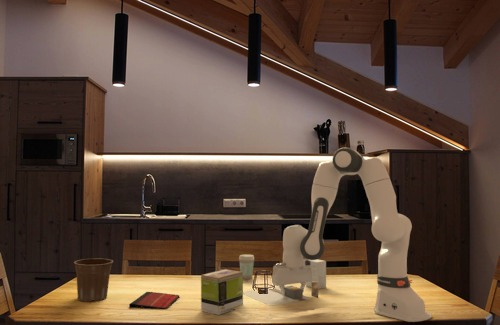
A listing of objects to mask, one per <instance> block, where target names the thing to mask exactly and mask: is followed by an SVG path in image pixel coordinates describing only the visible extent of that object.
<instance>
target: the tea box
mask: <svg viewBox="0 0 500 325" xmlns="http://www.w3.org/2000/svg"><path fill="white" fill-rule="evenodd" d="M243 281H244V280H243V272H240V270H239V271H238V270H232V269H225V268H224V269H222V270H221V269H220V270H216V271H212V272H208V273H205V274H201V275H200V304H201V305H200V306H201V307H200V310H201V311H202V312H204V313H207V314H212V315H216V316H221V315H223V314H227V313H229V312H231V311H232V312H233V311H235V310H236V309H235V308H236V307H239V306H241V305H242V306H243V304H244V294H243V291H244V284H243V283H244V282H243Z"/></svg>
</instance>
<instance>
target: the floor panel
mask: <svg viewBox="0 0 500 325" xmlns="http://www.w3.org/2000/svg"><path fill="white" fill-rule="evenodd" d="M274 287H275V288H274V289H273V290H272V289H269V292H268V294H259V293H258V292H257V291H254V290H255V289H251V290H243V296H244V295H245V296H246V297H249V298H251V299H254V300H255V301H258V302H261V303H263V304H265V305H268V306H270V307H272V306H277V305H283V304H290V303H297V302H302V301H307V300H308V301H309V300H313V298H311V297H309V296H306V295H303V298H296V299H292V298H290V297H287V296H284V295H282V294H281V289H280V288H279V286H274Z"/></svg>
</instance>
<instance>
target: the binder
mask: <svg viewBox="0 0 500 325" xmlns="http://www.w3.org/2000/svg"><path fill="white" fill-rule="evenodd" d="M179 299H180V295H179V294H172V293H163V292H154V291H145V292H144V293H143V294H142V295H140V296H139V297H137V298H136V299H134V300H133V301H132V302H130V303H129V306H128V307H129V308H130V309H131V308H133V307H135V308H136V307H137V308H143V309H145V310H146V309H147V310H167V309H169V308H170V307H171V305H172V304H174V302H175V301H176V300H179Z"/></svg>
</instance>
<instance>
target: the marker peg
mask: <svg viewBox="0 0 500 325" xmlns="http://www.w3.org/2000/svg"><path fill="white" fill-rule="evenodd" d="M311 296H312V297H315V298H319V289H318V281H312V287H311Z"/></svg>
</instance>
